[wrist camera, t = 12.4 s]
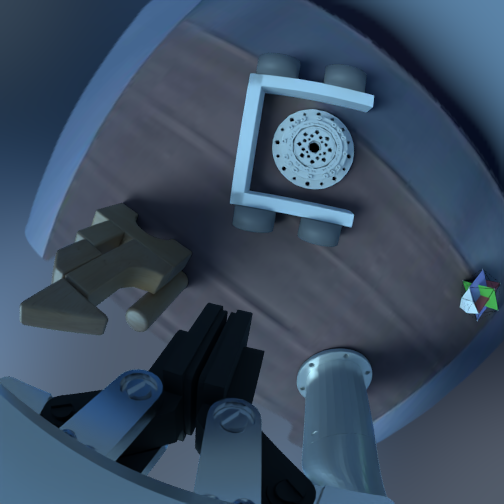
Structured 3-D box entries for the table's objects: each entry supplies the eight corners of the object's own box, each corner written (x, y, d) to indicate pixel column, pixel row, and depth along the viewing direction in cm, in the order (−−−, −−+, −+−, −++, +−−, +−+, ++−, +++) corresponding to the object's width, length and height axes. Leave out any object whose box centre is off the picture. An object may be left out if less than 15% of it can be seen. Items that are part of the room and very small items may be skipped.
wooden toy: (108, 237, 41) (-17, 300, 18) (122, 202, 39) (-19, 249, 16) (183, 292, 42) (83, 407, 18) (203, 258, 39) (92, 370, 16)
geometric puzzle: (496, 256, 29) (497, 290, 25) (503, 290, 30) (502, 326, 26) (458, 266, 35) (452, 300, 31) (467, 298, 36) (461, 333, 32)
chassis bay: (342, 240, 35) (348, 251, 31) (233, 218, 37) (223, 226, 32) (369, 84, 29) (379, 73, 24) (258, 65, 30) (251, 51, 26)
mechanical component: (321, 97, 31) (257, 139, 34) (323, 88, 26) (251, 136, 29) (366, 161, 32) (303, 203, 35) (375, 161, 28) (303, 208, 31)
